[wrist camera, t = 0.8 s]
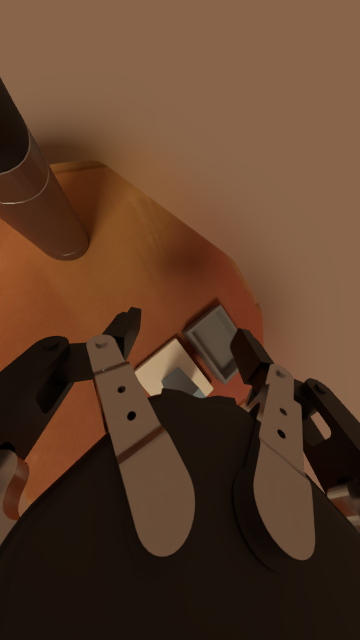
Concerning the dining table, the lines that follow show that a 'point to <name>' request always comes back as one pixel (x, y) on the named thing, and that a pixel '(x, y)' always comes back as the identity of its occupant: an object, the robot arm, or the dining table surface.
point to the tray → (214, 342)
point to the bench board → (169, 369)
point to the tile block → (182, 383)
